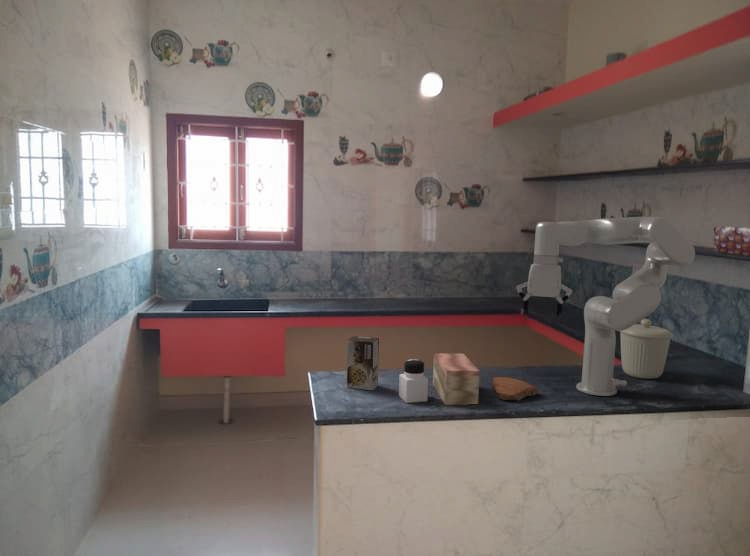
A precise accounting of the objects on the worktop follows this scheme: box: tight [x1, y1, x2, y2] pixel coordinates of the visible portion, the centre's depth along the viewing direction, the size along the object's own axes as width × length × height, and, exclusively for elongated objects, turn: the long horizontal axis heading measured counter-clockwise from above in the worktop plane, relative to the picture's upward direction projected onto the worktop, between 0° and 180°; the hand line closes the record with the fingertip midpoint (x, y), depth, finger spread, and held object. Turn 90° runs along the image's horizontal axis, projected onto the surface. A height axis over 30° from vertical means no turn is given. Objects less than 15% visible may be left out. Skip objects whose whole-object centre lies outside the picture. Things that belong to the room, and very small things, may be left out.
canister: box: [619, 318, 674, 380], centre depth 210 cm, size 18×18×21 cm
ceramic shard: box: [492, 376, 539, 401], centre depth 184 cm, size 15×6×15 cm
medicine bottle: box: [398, 358, 430, 404], centre depth 176 cm, size 7×7×12 cm
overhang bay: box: [432, 352, 481, 406], centre depth 182 cm, size 10×21×10 cm, turn 5°
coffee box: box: [346, 335, 380, 391], centre depth 187 cm, size 9×6×16 cm
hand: (542, 314), depth 184 cm, fingers open, 9 cm apart
